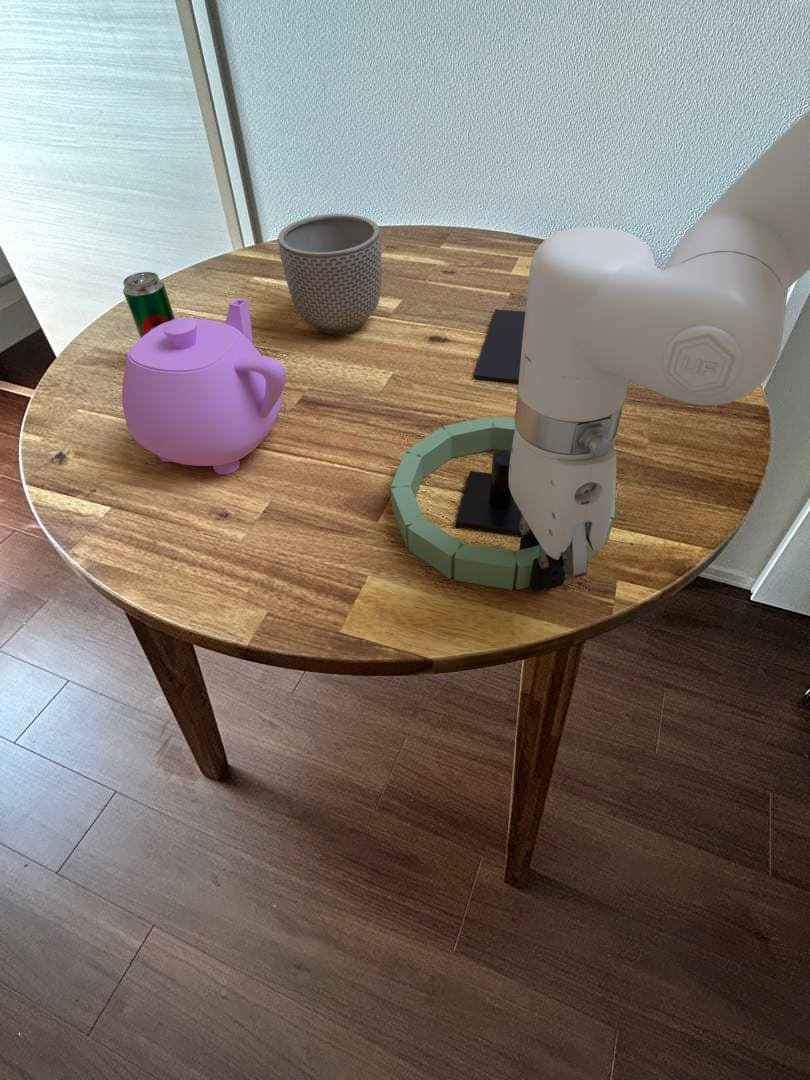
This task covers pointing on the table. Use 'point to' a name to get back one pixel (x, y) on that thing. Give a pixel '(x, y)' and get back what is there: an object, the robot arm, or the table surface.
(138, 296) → the soda can
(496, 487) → the post
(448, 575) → the hoop
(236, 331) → the teapot
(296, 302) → the planter
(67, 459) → the table surface
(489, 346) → the mat
